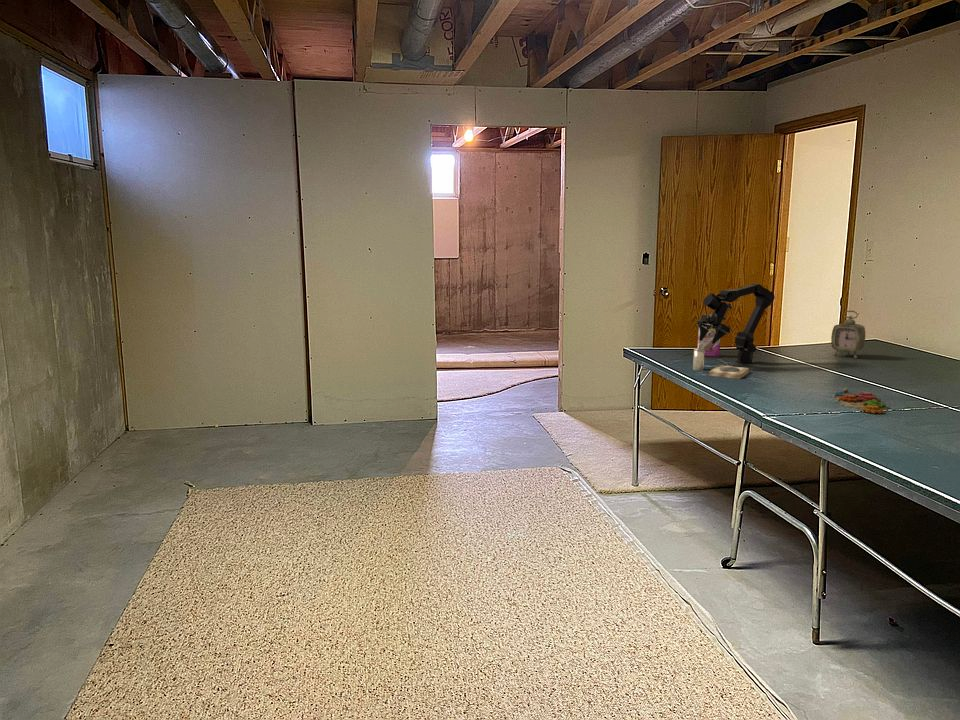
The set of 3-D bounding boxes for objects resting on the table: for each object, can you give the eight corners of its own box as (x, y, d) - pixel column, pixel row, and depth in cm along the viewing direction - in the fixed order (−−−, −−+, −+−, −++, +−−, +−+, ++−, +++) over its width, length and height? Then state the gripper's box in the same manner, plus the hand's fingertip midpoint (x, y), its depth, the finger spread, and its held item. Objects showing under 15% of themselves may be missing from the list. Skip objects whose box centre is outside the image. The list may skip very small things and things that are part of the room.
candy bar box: (698, 356, 376) (700, 326, 373) (696, 354, 381) (698, 325, 378) (719, 356, 375) (721, 326, 372) (717, 355, 380) (719, 325, 377)
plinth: (748, 372, 335) (748, 367, 334) (739, 379, 320) (740, 373, 320) (718, 369, 342) (719, 364, 342) (708, 375, 328) (709, 370, 327)
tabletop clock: (829, 356, 377) (833, 310, 372) (836, 353, 383) (840, 308, 378) (858, 359, 366) (862, 312, 362) (864, 357, 372) (869, 311, 368)
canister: (700, 367, 346) (701, 348, 344) (705, 369, 341) (706, 349, 339) (690, 368, 345) (692, 348, 343) (696, 370, 340) (697, 350, 338)
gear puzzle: (895, 417, 257) (897, 406, 256) (847, 414, 261) (848, 404, 260) (872, 397, 287) (873, 388, 286) (830, 395, 291) (830, 386, 290)
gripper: (695, 305, 352) (682, 333, 352) (721, 309, 335) (708, 338, 335) (710, 314, 356) (698, 341, 356) (736, 318, 340) (723, 347, 339)
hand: (706, 342), depth 347 cm, fingers open, 9 cm apart
